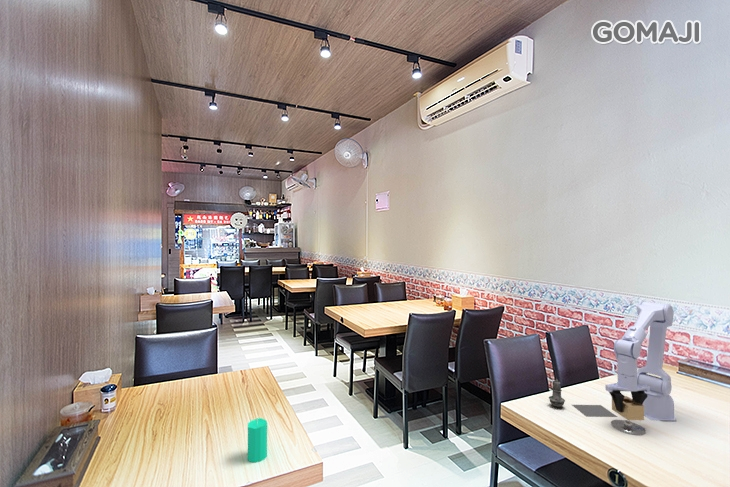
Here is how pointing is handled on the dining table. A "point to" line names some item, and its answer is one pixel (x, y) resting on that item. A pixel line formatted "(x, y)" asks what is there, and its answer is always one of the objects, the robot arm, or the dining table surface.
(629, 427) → the hub
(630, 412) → the wooden cubby box
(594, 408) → the mat
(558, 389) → the stepped metal shaft
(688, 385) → the dining table surface
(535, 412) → the dining table surface
